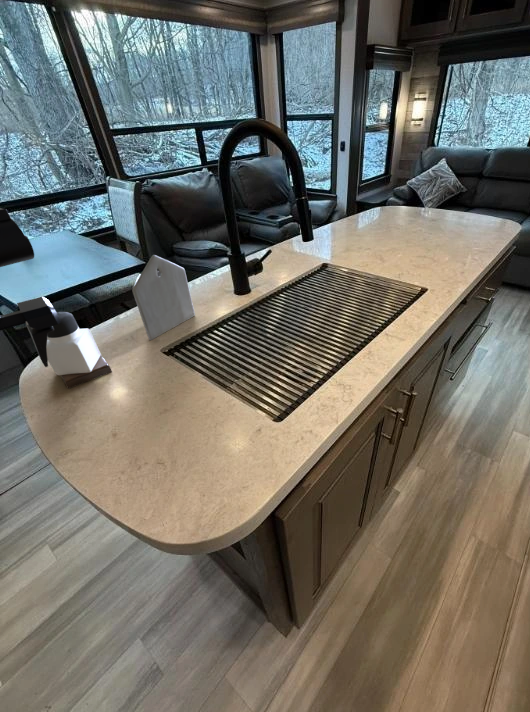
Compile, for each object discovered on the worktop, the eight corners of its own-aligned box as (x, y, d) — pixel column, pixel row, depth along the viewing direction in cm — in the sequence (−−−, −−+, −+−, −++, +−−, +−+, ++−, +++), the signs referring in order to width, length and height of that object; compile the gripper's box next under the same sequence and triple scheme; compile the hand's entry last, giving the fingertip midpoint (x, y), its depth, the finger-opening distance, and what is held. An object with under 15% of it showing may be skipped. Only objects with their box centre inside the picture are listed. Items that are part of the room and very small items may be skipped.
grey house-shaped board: (176, 309, 100) (158, 242, 88) (195, 315, 96) (179, 246, 84) (130, 333, 89) (102, 259, 77) (150, 340, 86) (124, 265, 73)
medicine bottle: (102, 354, 77) (79, 307, 69) (91, 372, 71) (65, 323, 64) (69, 357, 76) (43, 309, 69) (56, 376, 71) (26, 326, 63)
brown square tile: (68, 388, 70) (64, 381, 69) (58, 370, 76) (54, 363, 75) (112, 371, 75) (108, 364, 74) (99, 355, 80) (96, 348, 79)
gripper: (20, 251, 52) (65, 337, 62) (-152, 283, 42) (-66, 379, 52) (34, 269, 45) (82, 362, 55) (-166, 311, 36) (-64, 415, 46)
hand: (13, 377), depth 52 cm, fingers open, 9 cm apart
